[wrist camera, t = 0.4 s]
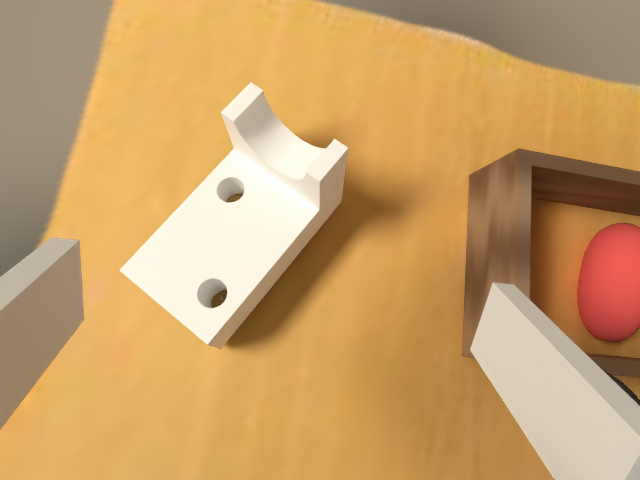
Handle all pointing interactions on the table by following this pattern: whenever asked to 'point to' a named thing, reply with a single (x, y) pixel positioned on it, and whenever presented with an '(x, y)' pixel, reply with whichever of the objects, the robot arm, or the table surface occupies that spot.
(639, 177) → the walnut box
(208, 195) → the bracket
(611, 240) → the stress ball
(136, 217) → the table surface
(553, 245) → the table surface
